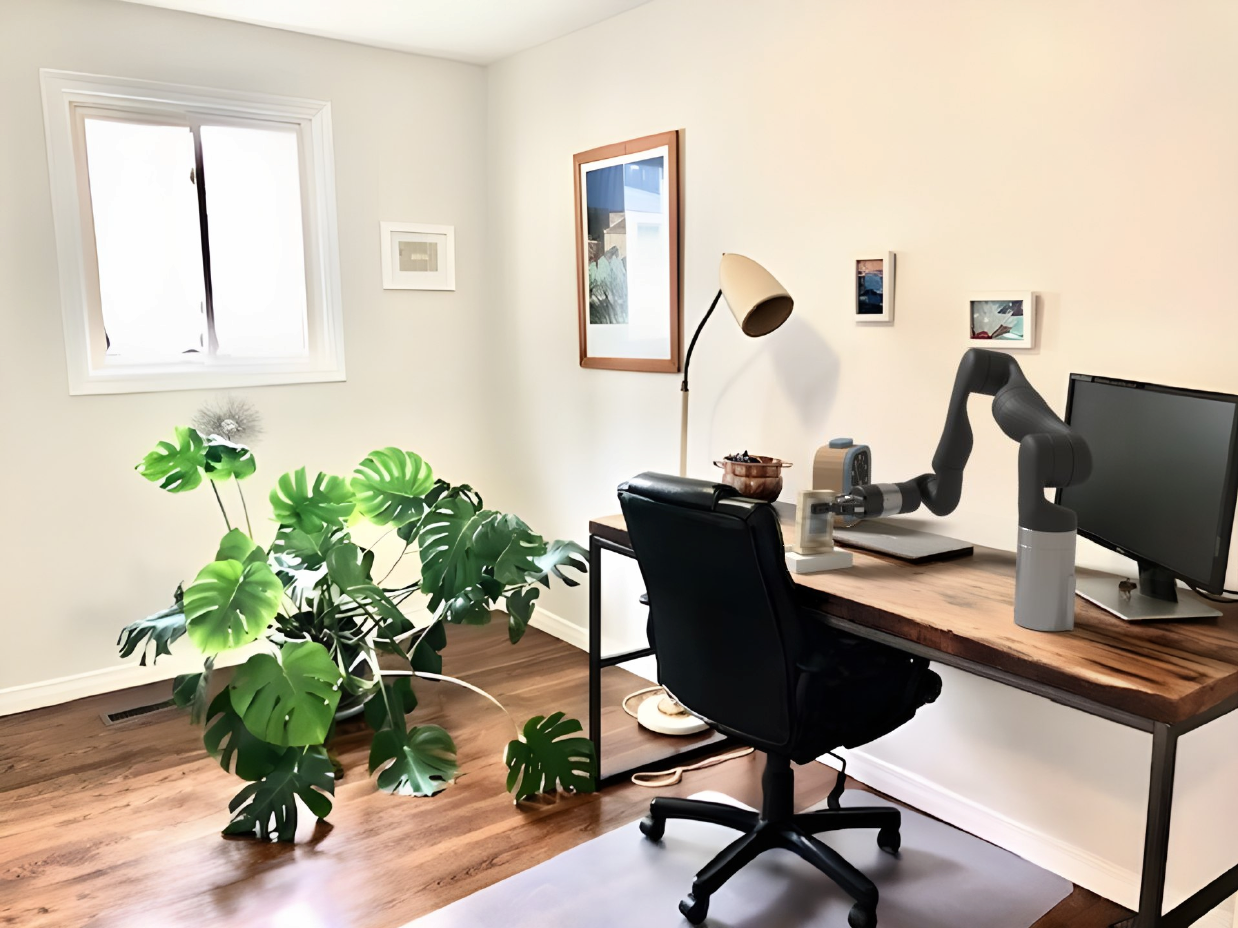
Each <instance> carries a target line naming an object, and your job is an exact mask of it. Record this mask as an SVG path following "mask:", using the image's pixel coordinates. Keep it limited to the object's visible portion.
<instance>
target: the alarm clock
mask: <svg viewBox="0 0 1238 928" xmlns="http://www.w3.org/2000/svg"><path fill="white" fill-rule="evenodd" d="M868 484H872V451H871V448H870V447H869V445H868V444H855V443H854V440H853V438H851V437H850V438H849V437H848V438H847V437H839V438H833V439H831V440H829V441H828V443H826V444H825V445H821V446H820V447H819V448H818V449H817V450H816V452H815V454H814V457H813V464H812V487H811V488H812V489H811V490H832V491H835V492H836V493H835V495H838V494H847V496H848V494H849V493H850V491H851V489H852V488H853V487H855V486H858V485H868ZM861 521H862V520H860V519H857V518H855V517H854V516H853V515H839V516H837V515H835V514H834V522H833V527H841V528H846V527H845V526H850V525H853V524H855V523H856V524H858V523H859V522H861ZM856 524H855V525H856ZM853 526H854V525H853Z"/></svg>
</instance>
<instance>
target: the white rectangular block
mask: <svg viewBox="0 0 1238 928" xmlns="http://www.w3.org/2000/svg"><path fill="white" fill-rule="evenodd" d="M792 545H794V543H793V544H786V545H785V559H786V563H787V567H788V570H787V571H789V572H791V573H793V574H795V575H796V574H798V575H799V574H805V573H814V572H822V571H823V572H824V571H829V570H837V569H847V568H853V564H854V563H853V562H854V559H853V557H854V556H853V555H854V553H853V552H852V551H848V550H846V549H843V548H840V547H837V546H835V540H833V539H832V546H833V547H834V552H832V553H814V554H800V553H798V552H795V551H793V550H792Z"/></svg>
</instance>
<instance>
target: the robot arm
mask: <svg viewBox="0 0 1238 928" xmlns="http://www.w3.org/2000/svg"><path fill="white" fill-rule="evenodd" d="M971 393H973V394H979V395H984V396H990V397H994V398H993V400H992V403H991V414H992V417H993V419H994V421H995V423H996V424H997V425H998V427H999V428H1000V430H1001V431H1002V432H1003V433H1004V435H1006V436H1007V437H1008V438H1009V439H1010V440H1013V441H1014V442H1016V443H1018V444H1019V447H1018V454H1017V477H1018V478H1017V481H1018V484H1017V487H1018V488H1017V489H1018V492H1017V493H1018V494H1017V514H1018V523H1017V541H1016V543H1017V544H1016V563H1015V584H1014V604H1013V606H1014V607H1013V622H1014V623H1015V624H1016V625H1018V626H1021V627H1023V628H1027V629H1030V630H1035V631H1042V632H1062V631H1074V625H1075V624H1074V623H1075V606H1076V604H1075V603H1076V588H1077V586H1076V585H1077V576H1076V573H1075V568H1076V553H1077V552H1076V551H1077V534H1078V515H1077V513H1076V511H1074V510H1073V509H1071V508H1068V507H1065V506H1063V505H1062V506H1061V505H1059V504H1056V503H1054V502H1052V501H1050V500H1049V499H1047V498H1046V495H1045V489H1066V488H1067V489H1070V488H1077V487H1081V486H1083V485H1085V484H1086V483H1087V482H1088V481H1089V480H1090V478H1091V477H1092V475H1093V472H1094V457H1093V452H1092V450H1091V448H1090V445H1089V443H1088V442H1087V441H1086V439H1085V438H1084V437H1083V436H1082V434H1080V433H1079V432H1078V431H1076V429H1074V428H1073V427H1072V426H1070V425H1069V424H1067V422H1065V421H1064V420H1062V418H1060V416H1058V414H1056V412H1055V411H1054V410H1053V409H1052V408H1051V407H1050V406H1049V404H1048V402H1046V400H1045V399H1044V397H1043V396H1042V395H1041V394H1040V393H1039V392H1038V391H1037V390H1036V389H1035V388H1034V387H1033V385H1032V384H1031V382H1030V380H1028V379H1027V377H1026V375H1025V374H1024V372H1023V370H1022V367H1021V366H1020V364H1019V362H1018V361H1017V359H1016V358H1015V357H1014V356H1013V355H1012V354H1008V353H1006V352H1002V351H1001V352H999V351H996V350H988V349H984V348H979V347H976V348H975V347H971V348H969V349H968V350H967V351H966V352H964V354H963V355H962V357H961V359H960V362H959V365H958V368H957V371H956V375H955V379H954V382H953V387H952V391H951V394H950V398H949V403H948V404H949V405H948V409H947V413H946V418H945V423H944V426H943V430H942V433H941V436H940V439H939V442H938V444H937V447H936V449H935V452H934V455H933V457H932V459H931V468H932V470H933V472H934V473H932V472H928V473H922V474H920V475H917V476H915V477H913V478H911V479H909V480H907V481H901V482H892V483H885V482H881V483H879V482H878V483H871V484H868V485H858V486H855V487H853V488H852V489H851V491H850V493H849V494H848V496H847V494H838V495H835V501H832V502H828V503H817V504H812V505H811V513H812V514H814V515H816V514H825V513H828V514H835V515H837V516H839V515H853V516H854V517H855V518H857V519H860V520H861V521H863V520H869V519H879V518H888V517H890V516H891V517H892V516H895V515H902V514H910V513H911V514H912V513H914V512H916V511H918V510H919V508H920V506H921V503H922V504H923V505H924V506H925V507H926V508H927V510H929V512H931V513H932V514H933V515H935V516H937V517H946V516H949V515H950V514H952V513H953V512H954V511H955V510H956V508H957V507H958V505H959V503H960V501H961V499H962V498H961V497H962V490H963V481H964V470H965V468H966V466H967V463H968V461H969V459H970V456H971V454H972V451H973V448H974V447H973V446H974V434H973V429H972V426H971V422H970V419H969V414H968V401H969V398H970V395H971Z"/></svg>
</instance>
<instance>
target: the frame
mask: <svg viewBox="0 0 1238 928" xmlns="http://www.w3.org/2000/svg"><path fill="white" fill-rule="evenodd" d="M835 493H836V492H835V491H832V490H812V489H809V490H804V489H803V490H797V494H796V508H795V509H796V511H795V523H794V524H795V525H794V538H793V539H794V540H793V544H794V545H793V544H791V545H792V550H793V551H795V552H798V553H800V554H814V553H832V552H834V547H833V546H832V540H833V535H834V526H833V522H834V514H828V513H825V514H816V515H814V514H812V513H811V505H812V504H817V503H828V502H832V501H835Z"/></svg>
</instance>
